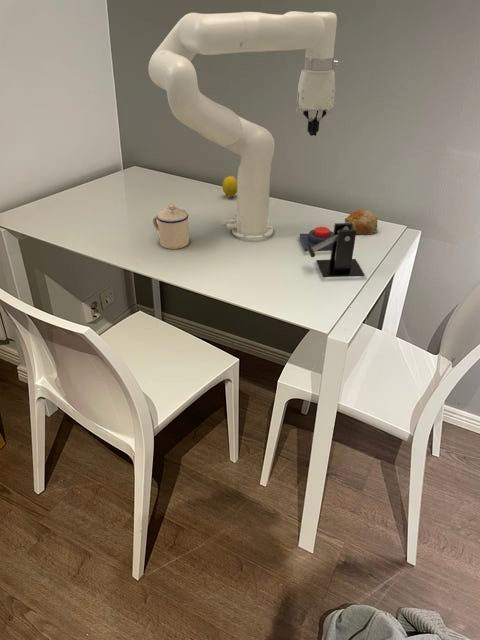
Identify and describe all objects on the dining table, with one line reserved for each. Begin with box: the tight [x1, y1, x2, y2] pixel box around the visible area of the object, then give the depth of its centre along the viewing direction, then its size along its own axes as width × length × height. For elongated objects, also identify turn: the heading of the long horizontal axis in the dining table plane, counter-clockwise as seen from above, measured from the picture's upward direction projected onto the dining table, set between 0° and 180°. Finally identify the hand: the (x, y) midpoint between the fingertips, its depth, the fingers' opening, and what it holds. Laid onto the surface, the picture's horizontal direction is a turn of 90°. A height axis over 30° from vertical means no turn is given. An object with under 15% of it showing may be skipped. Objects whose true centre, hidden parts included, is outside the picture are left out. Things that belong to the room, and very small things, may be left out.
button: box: [313, 226, 331, 238], centre depth 143 cm, size 4×4×2 cm
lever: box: [307, 226, 349, 258], centre depth 128 cm, size 12×6×2 cm, turn 94°
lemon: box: [222, 174, 237, 198], centre depth 175 cm, size 6×6×8 cm
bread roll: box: [344, 209, 378, 236], centre depth 154 cm, size 10×10×8 cm
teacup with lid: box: [152, 204, 190, 250], centre depth 144 cm, size 12×9×12 cm
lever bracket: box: [315, 222, 365, 278], centre depth 130 cm, size 11×9×13 cm
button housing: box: [299, 229, 334, 252], centre depth 144 cm, size 11×9×4 cm
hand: (312, 134), depth 146 cm, fingers closed
